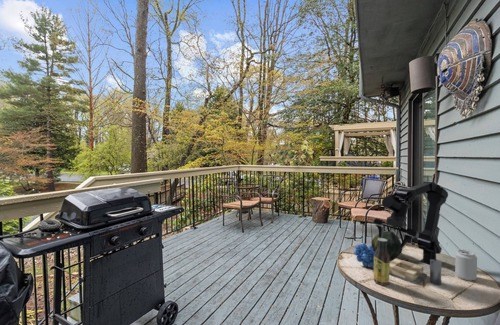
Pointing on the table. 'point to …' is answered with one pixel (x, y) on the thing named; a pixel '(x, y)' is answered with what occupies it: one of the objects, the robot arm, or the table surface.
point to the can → (466, 265)
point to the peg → (435, 271)
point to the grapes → (365, 254)
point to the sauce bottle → (381, 263)
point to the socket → (406, 271)
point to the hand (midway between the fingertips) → (390, 244)
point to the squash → (389, 244)
